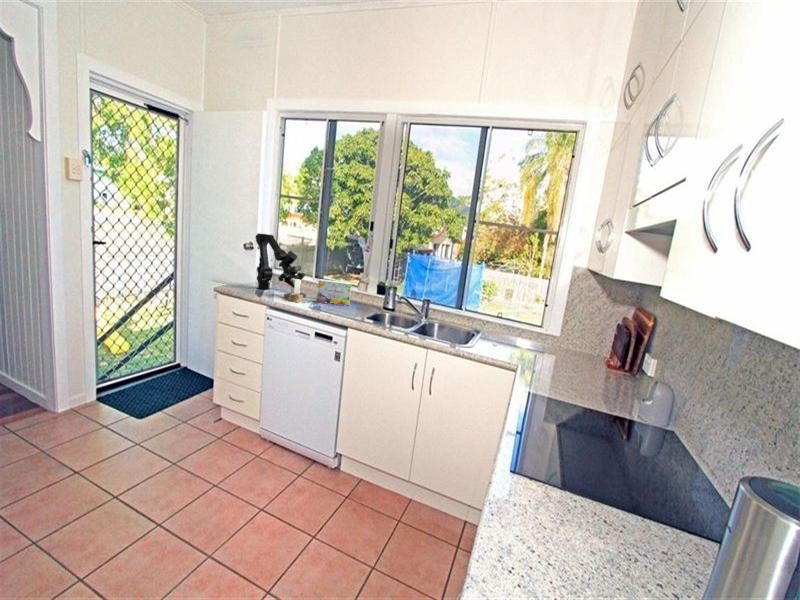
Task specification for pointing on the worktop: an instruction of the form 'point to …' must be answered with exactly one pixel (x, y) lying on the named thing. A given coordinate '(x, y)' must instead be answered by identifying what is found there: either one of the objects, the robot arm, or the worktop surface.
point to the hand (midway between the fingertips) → (297, 287)
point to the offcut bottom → (296, 300)
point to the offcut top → (296, 296)
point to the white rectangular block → (296, 286)
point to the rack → (290, 293)
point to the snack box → (334, 292)
